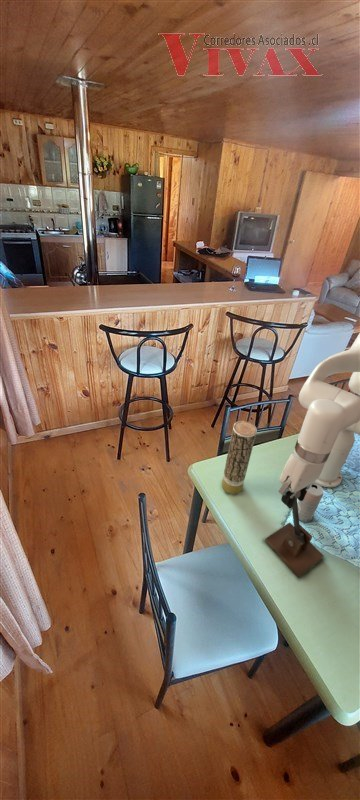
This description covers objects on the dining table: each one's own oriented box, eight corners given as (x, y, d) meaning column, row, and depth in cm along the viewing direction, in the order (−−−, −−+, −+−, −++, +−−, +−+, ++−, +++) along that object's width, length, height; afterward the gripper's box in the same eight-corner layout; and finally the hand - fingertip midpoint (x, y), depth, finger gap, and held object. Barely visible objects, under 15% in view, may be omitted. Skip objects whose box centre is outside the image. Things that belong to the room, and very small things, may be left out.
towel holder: (264, 541, 93) (270, 525, 89) (288, 525, 98) (294, 510, 94) (298, 578, 85) (305, 562, 81) (322, 558, 90) (330, 543, 86)
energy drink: (312, 511, 103) (324, 485, 96) (310, 525, 99) (323, 498, 92) (295, 505, 104) (306, 479, 98) (292, 517, 100) (303, 491, 93)
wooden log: (241, 496, 106) (256, 437, 92) (220, 492, 107) (232, 433, 92) (242, 481, 111) (257, 423, 97) (222, 477, 112) (234, 419, 98)
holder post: (282, 486, 85) (293, 491, 82) (291, 480, 87) (303, 485, 84) (288, 543, 89) (299, 549, 86) (297, 536, 91) (308, 542, 88)
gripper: (321, 429, 83) (301, 479, 93) (275, 451, 75) (259, 503, 85) (348, 447, 78) (323, 497, 88) (301, 472, 70) (280, 525, 80)
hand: (292, 500), depth 86 cm, fingers closed on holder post, 3 cm apart
